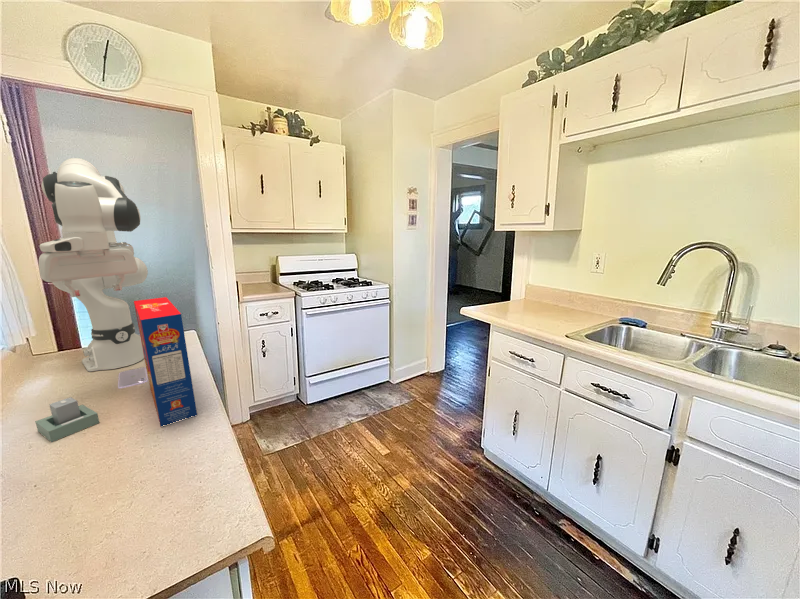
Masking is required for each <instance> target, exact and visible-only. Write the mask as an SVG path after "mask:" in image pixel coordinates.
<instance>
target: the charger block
mask: <svg viewBox="0 0 800 599" xmlns="http://www.w3.org/2000/svg"><path fill="white" fill-rule="evenodd" d="M79 406H80V405H79V403H78V400H76V399H74V398H73V397H71V396H69V397H67V398H64V399H61V400H58V401H55V402H52V403H49V409H50V412H51V416H52V417H53V420H54V424H55V426H58V425H61V424H63V423H66V422H69V421H71V420H74V419H76V418H79V417H81V414H80V410H79Z"/></svg>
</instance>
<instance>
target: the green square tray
mask: <svg viewBox="0 0 800 599" xmlns="http://www.w3.org/2000/svg"><path fill="white" fill-rule="evenodd" d="M78 406H79V410H80V414H81V417H79V418H76V419H74V420H71V421H69V422H66V423H63V424H61V425H58V426H55V424H54V420H53V417H52V415H49V416H47V417H44V418H41V419H38V420H36V421H35V425H36V429H37V432H38V433H39V432H40V433H41V434H40V433H39V434H40V435H42V436H43V437H44V436H45V437H46V440H48V441H49V442H50V441H51V442H50V443H53V441H54V442H56V441H58V439H59V440H61V439H64V438H65V436H66V437H68V436H71V435H73V434H75V432H76V433H78V432H81V431H83V430H86V429H88V428H91V427H93V426H95V424H96V425H98V424H100V418H99V415H98V412H97V411H94V410H93V409H91V408H89V407H87V406H86V405H84V404H80V405H78ZM90 426H91V427H90ZM87 427H88V428H87ZM85 428H86V429H85ZM82 429H83V430H82ZM80 430H81V431H80ZM70 434H71V435H70ZM63 437H64V438H63ZM60 438H61V439H60Z"/></svg>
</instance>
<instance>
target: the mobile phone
mask: <svg viewBox="0 0 800 599" xmlns="http://www.w3.org/2000/svg"><path fill="white" fill-rule="evenodd" d="M145 382H146V383H147V382H149V379H148V374H147V369H146V366H144V367H143V366H142V367H138V368H134V369H128V370H124V371H120V372H119V373H118V382H117V388H118V389H124V388H129V387H132V386H136V385H141V384H146V383H145Z"/></svg>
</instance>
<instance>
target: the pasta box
mask: <svg viewBox="0 0 800 599" xmlns="http://www.w3.org/2000/svg"><path fill="white" fill-rule="evenodd" d="M133 305H134V308H135V309H134V310H135V315H136V320H137V326H138V332H139V335H140V337H141V342H142V348H143V353H144V363H145V368H146V371H147V377H148V383H149V388H150V393H151V396H152V401H153V404H154V408H155V410H156V414H157V419H158V421H159V422H160V423H159V426H160V427H161V426H163V425H167V424H170V423H173V422H176V421H179V420H182V419H185V418H188V419H190V418H189V417H191V416H194V417H196V416H195V415H197V416H198V411H197V405H196V400H195V393H194V387H193V386H194V385H193V380H192V375H191V374H192V373H191V368H190V362H189V356H188V349H187V344H186V343H187V342H186V337H185V330H184V323H183V317H182V313H181V312H180V311H179V310H178V308H177V307H176V306H175V305H174V304H173V303H172V302H171V300H169V298H168V297H166V296H163V297H158V298H157V297H156V298H147V299H139V300H133ZM191 418H192V417H191ZM185 420H186V419H185ZM182 421H183V420H182ZM179 422H180V421H179ZM176 423H177V422H176ZM173 424H174V423H173ZM170 425H171V424H170ZM167 426H168V425H167ZM163 427H164V426H163Z"/></svg>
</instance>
